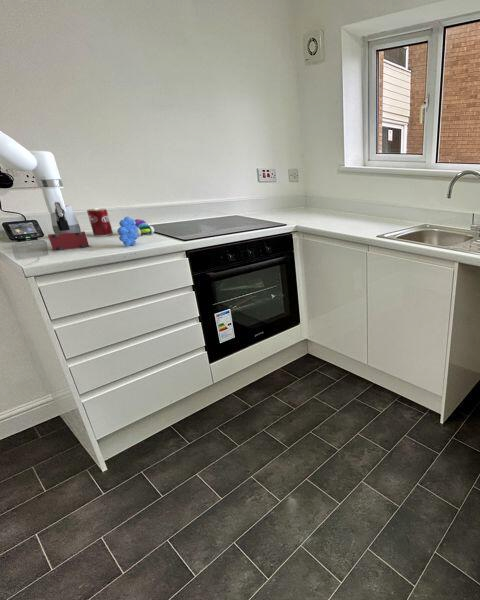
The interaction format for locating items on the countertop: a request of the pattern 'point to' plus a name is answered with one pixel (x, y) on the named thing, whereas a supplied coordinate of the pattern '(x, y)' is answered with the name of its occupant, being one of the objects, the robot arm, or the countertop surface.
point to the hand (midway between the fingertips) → (64, 230)
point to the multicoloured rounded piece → (143, 227)
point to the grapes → (128, 231)
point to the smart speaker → (70, 219)
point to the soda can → (100, 222)
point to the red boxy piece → (68, 240)
